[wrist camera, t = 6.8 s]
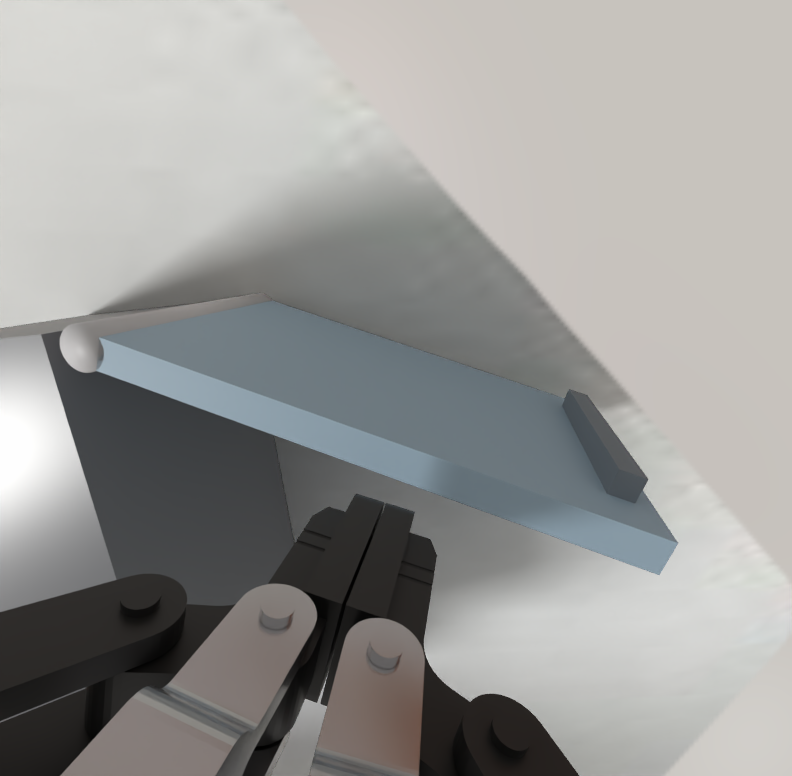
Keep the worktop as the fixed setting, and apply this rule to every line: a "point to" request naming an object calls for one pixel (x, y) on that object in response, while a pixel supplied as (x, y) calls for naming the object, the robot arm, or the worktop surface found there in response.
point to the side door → (391, 414)
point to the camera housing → (126, 483)
